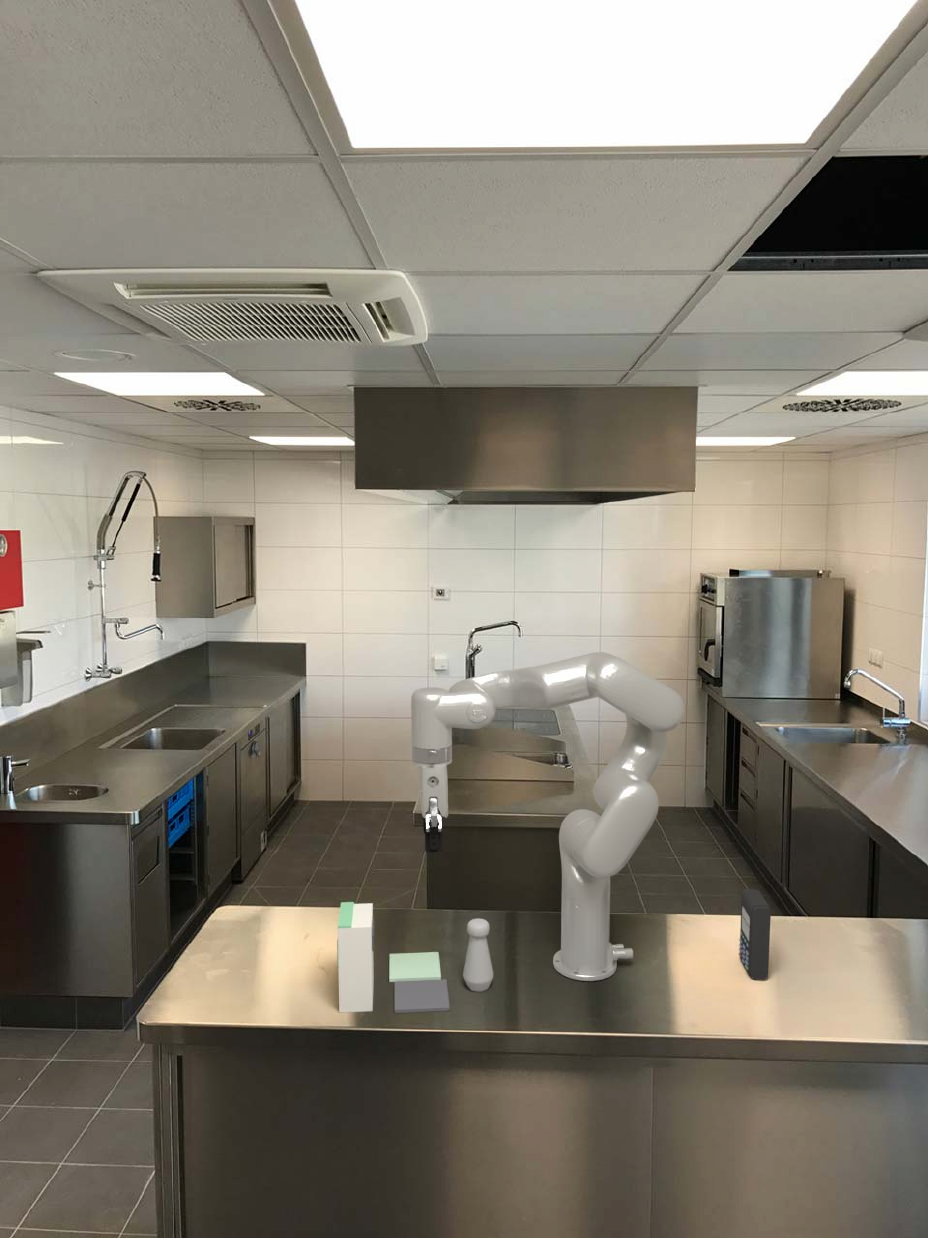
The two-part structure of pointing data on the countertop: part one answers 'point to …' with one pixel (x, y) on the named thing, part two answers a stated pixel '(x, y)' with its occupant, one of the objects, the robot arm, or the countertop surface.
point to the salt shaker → (478, 957)
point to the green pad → (414, 966)
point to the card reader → (755, 933)
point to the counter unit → (355, 957)
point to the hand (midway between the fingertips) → (432, 842)
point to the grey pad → (421, 996)
